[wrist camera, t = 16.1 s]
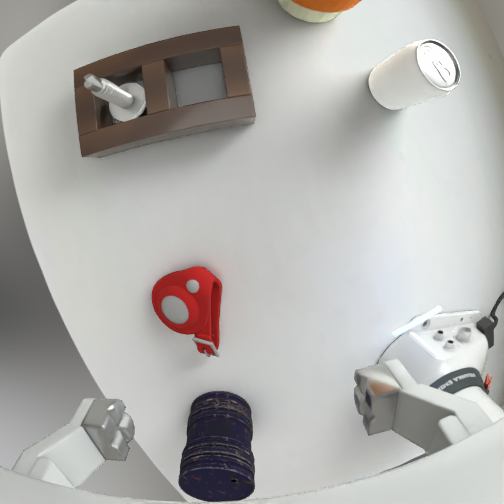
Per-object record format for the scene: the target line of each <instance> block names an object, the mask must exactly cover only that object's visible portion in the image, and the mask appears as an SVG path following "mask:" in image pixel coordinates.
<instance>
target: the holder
mask: <svg viewBox="0 0 504 504" xmlns="http://www.w3.org/2000/svg"><path fill="white" fill-rule="evenodd" d="M218 62H222V67H223V73H224V79H225V85H226V91H227V97H228V98H223V99H218V100H212V101H207V102H202V103H197V104H192V105H187V106H183V107H178V105H177V98H176V91H175V84H174V77H173V72H174V71H178V70H183V69H187V68H192V67H197V66H202V65H207V64H212V63H218ZM87 74H92V75H94V76H96V77H97V78H104V79H106V80H109V81H110V82H112V83H113V84H115V85H117V86H118V87H120V86H121V85H123V84H126V83H133V82H136V81H140V80H143V83H144V91H145V99H146V107H147V114H148V115H146V116H142V117H138V118H135V119H131V120H128V121H124V122H121V123H118V124H114V125H113V123H112V114H111V113H110V109H109V102H108V101H106V100H104V99H101V98H99V97H97V96H95V95H94V94H93V93H92V92H91V90H89V89H87V88H86V87H85V86H84V83H85V81H86V79H84V77H85V76H86V75H87ZM74 88H75V102H76V114H77V124H78V133H79V141H80V148H81V155H82V157H96V158H101V157H104V156H107V155H111V154H114V153H118V152H121V151H125V150H128V149H132V148H136V147H140V146H144V145H147V144H151V143H156V142H160V141H164V140H168V139H173V138H177V137H182V136H186V135H191V134H196V133H201V132H206V131H211V130H217V129H222V128H228V127H234V126H240V125H247V124H253V123H254V121H255V117H256V114H255V108H254V102H253V97H252V91H251V85H250V80H249V74H248V69H247V63H246V58H245V52H244V47H243V42H242V36H241V31H240V26H232V27H225V28H219V29H213V30H207V31H202V32H197V33H192V34H187V35H182V36H178V37H174V38H170V39H166V40H162V41H158V42H154V43H151V44H147V45H144V46H140V47H137V48H134V49H130V50H127V51H124V52H121V53H118V54H115V55H112V56H109V57H107V58H104V59H101V60H98V61H96V62H93V63H91V64H88V65H86V66H83V67H81V68H78V69H76V70H74Z"/></svg>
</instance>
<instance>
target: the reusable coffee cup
mask: <svg viewBox="0 0 504 504" xmlns="http://www.w3.org/2000/svg"><path fill="white" fill-rule="evenodd" d="M360 1H361V0H278V2H279V4H280V5H281V7H282V8H283V9H284V10H285V11H286V12H287V13H289V14H290V15H292V16H294V17H296V18H297V19H300V20H303V21H307V22H313V23H321V22H327V21H330V20H332V19H334V18H335V17H337V16H338V15H339V14H340V13H341V12H342V11H345V10H348V9H350V8H352V7H353V6H355V5H356V4H357V3H358V2H360Z"/></svg>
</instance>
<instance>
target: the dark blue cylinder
mask: <svg viewBox="0 0 504 504" xmlns="http://www.w3.org/2000/svg"><path fill="white" fill-rule="evenodd" d="M187 425H188V426H187V443H186V446H185V448H184V450H183V453H182V459H181V464H180V475H179V482H178V483H179V486H180V488H181V489H182V490H183V491H184V492H185V493H186V494H188V495H190V496H192V497H194V498H196V499H199V500H203V501H207V502H222V501H239V500H242V499H245V498H247V497H248V496H250V495H251V494H252V493H253V492H254V489H255V482H254V475H255V466H254V456H253V453H252V451H251V441H252V436H253V425H252V419H251V409H250V406H249V405H248V403H247V402H246V401H245V400H244V399H243V398H241V397H240V396H238V395H235V394H233V393H229V392H224V391H214V392H208V393H205V394H203V395H201V396H199V397H198V398H196V399H195V400H194V402H193V403H192V406H191V412H190V415H189V418H188V424H187Z"/></svg>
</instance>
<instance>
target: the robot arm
mask: <svg viewBox="0 0 504 504" xmlns="http://www.w3.org/2000/svg"><path fill="white" fill-rule="evenodd" d="M503 298H504V293H503V294H502V295H501V296H500V297H499V299H498V300H497V302H496V304H495V306H494V308H493V310H492V313H491V317H492V318H493V319H494V323H493V322H492V321H491V320H489V319H488V318H486V317H485V316H484V317H482V315H481V313H480V312H479V311H478V310H470V311H461V312H451V313H440V314H436V313H438V312H440V311H441V310H442V308H441V307H440V306H438V307H436V308H435V309H433V310H431V311H430V312H428V313H426V314H424V315H418V316H416V317H414V318H413V319H412V320H411V322H410V323H409V324H407V325H405V326H403V327H401V328H400V329H398V330H396V331H394V332H392V333H393V335H394V336H395V337H396V336H398V335H400V334H401V333H403V332H404V333H403V334H402V335H401V336H400V337H399V338H398V339H397V340H395V341H394V342H393V343H392V344H391V345H390V346H389V347H388V348H387V350H386V351H385V352H384V354H383V355H382V357H381V358H380V360H379V362H378V364H376V365H373V366H369V367H365V368H361V369H357V370H355V376H354V380H355V382H356V384H357V386H356V387H355V388H354V399H355V405H356V408H357V410H358V413H359V414H360V415H362V416H363V424H364V426H365V429H366V431H367V433H368V435H373V434H377V433H380V432H384V431H387V430H390V429H392V430H393V431H395V432H396V433H398V434H399V435H401V436H403V437H404V438H406V439H408V440H409V441H411V442H413V443H414V444H416V445H418V446H419V447H421V448H423V449H424V450H425V452H426V454H427V456H426V457H424V458H421V459H419V460H416V461H414V462H411V463H409V464H406V465H404V466H401V467H398V468H395V469H392V470H389V471H386V472H383V473H380V474H377V475H374V476H370V477H367V478H364V479H360V480H356V481H353V482H349V483H345V484H341V485H337V486H333V487H328V488H324V489H319V490H314V491H309V492H304V493H298V494H292V495H285V496H278V497H271V498H262V499H252V500H240V501H222V502H172V501H155V500H144V499H134V498H126V497H118V496H112V495H105V494H99V493H94V492H89V491H83V490H79V489H77V488H78V487H79V486H80V485H81V484H82V483H83V482H84V481H85V480H86V479H87V478H88V477H89V476H90V475H92V473H94V472H95V471H96V470H97V469H98V468H99V467H100V466H101V465H102V464H103V463H104V462H105V461H106V460H116V461H125V460H126V458H127V455H128V452H129V449H130V448H129V446H128V443H129V442H130V441H131V440H132V439H133V437H134V423H133V420H132V418H131V416H130V415H128V414H127V413H126V412H124V411H125V408H126V407H125V405H124V403H123V401H122V400H119V399H99V398H97V399H95V398H85V399H84V400H82V402H81V404H80V406H79V407H78V409H77V411H76V412H75V414H74V416H73V417H72V419H71V421H70V423H69V425H64V426H62V427H61V428H59V429H57V430H56V431H54V432H53V433H51V434H49V435H48V436H46V437H44V438H43V439H41V440H40V441H38V442H36V443H35V444H33V445H32V446H30V447H28V448H26V449H25V450H23V452H22V453H21V455H20V457H19V458H18V460H17V462H16V463H15V465H14V467H13V468H12V470H9V469H7V468H4V467H2V466H0V504H504V410H502V409H501V408H500V407H499V406H498V405H497V404H496V403H495V402H494V401H493V400H492V399H491V398H490V397H489V396H488V393H489V390H488V389H489V386H490V383H491V379H492V377H491V378H490V380H489V374H487V376H486V379H485V383H484V384H483V380H482V374H483V371H484V368H485V365H486V361H487V356H488V349H489V348H491V347H492V346H493V345H494V330H493V329H494V328H495V327H496V325H497V323H498V318H497V317H496V316H495V311H496V309H497V306H498V305H499V303H500V301H501V300H502V299H503ZM424 322H425V323H424ZM423 323H424V324H423ZM488 381H489V382H488Z"/></svg>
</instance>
